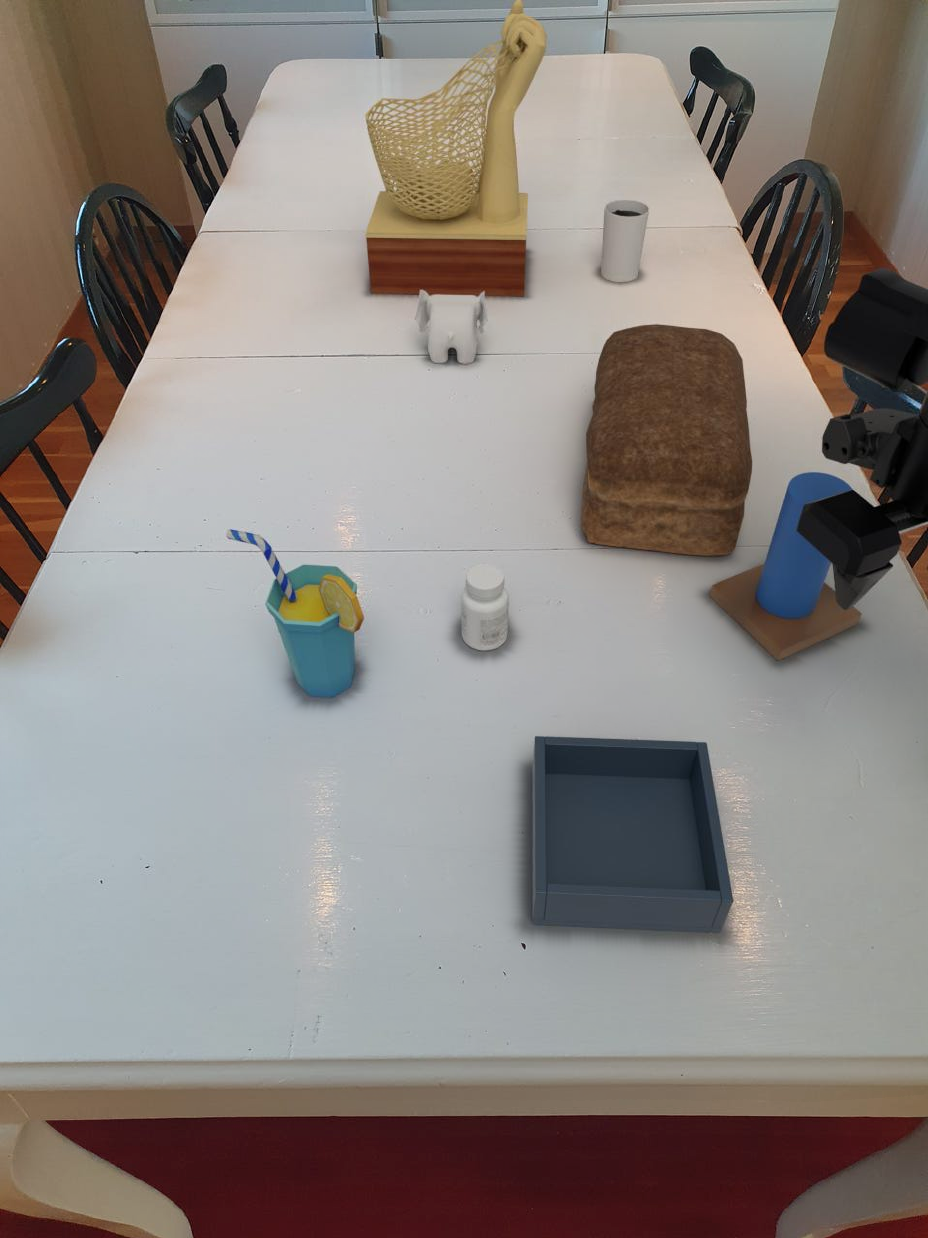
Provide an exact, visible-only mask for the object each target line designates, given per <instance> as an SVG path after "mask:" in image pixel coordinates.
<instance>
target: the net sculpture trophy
mask: <svg viewBox="0 0 928 1238" xmlns="http://www.w3.org/2000/svg"><path fill="white" fill-rule="evenodd" d="M501 27H502V28H501V31H500V35H501V40H499V41H497V42H495V43H493V44H490V45H488V46H486V47H484V48H483V49H481V50H480V51H478V53H476V54H474V56H472V57H471V58H470V59H469V60H468V61H467V62H466V63H465V64H464V65H463V66H462V67H461V68H460V69H459V70H458V71H457V72H456V73H455V74H454V75H453V76H452V77H451V78H450V79H449V80H448V81H447V82H446V83H445V84H444V85H443V86H442V87H441V88H440V89H438V90H435V91H434V92H431V93H428V94H427V95H424V96H421V97H419V98H391V97H390V98H387V97H385V98H381V99H380V100H378V101H377V102H375V103H374V104H373V105H372V106H371V107H370V108H369V110H368V111H367V112H366V113H365V114H364V117H365V122H366V127H367V133H368V138H369V141H370V145H371V148H372V152H373V155H374V158H375V162H376V164H377V167H378V171H379V174H380V177H381V179H382V183H383V186H384V189H385V190H380V191H379V193H378V196H377V198H376V202H375V204H374V207H373V210H372V213H371V216H370V219H369V222H368V225H367V228H366V230H365V240H366V250H367V251H366V252H367V264H368V275H369V286H370V294H372V295H373V294H374V295H378V294H379V295H419V294H420V290H424V291H426V292H427V293H428V295H429V296H431V295H435V294H439V295H474V296H477V297H478V296H479V295H480V294H481V293H482V292H483V291H485V297H525V283H526V255H527V229H528V228H527V227H528V202H529V200H528V199H529V193H528V192H520V185H519V172H518V157H517V144H516V137H515V121H514V120H515V115H516V111H517V109H518V108H519V107H520V104H521V103H522V102H523V100H524V98H525V96H526V95H527V92H528V90H529V88H530V87H531V84H532V82H533V80H534V78H535V76H536V74H537V72H538V69H539V67H540V65H541V64H542V61H543V59H544V56H545V53H546V52H547V51H546V50H547V49H546V48H547V38H548V35H547V33H546V30H545V27H544V26H543V24H541V23H540V21H538V19H535V18H533V17H531V16H529V15H527V14H525V13H524V3H523V1H522V0H514V3H513V4H512V6H511V8H510V10H509V13H508V15H507V16H506V17H505V18H504V21H503V24H502V26H501ZM501 44H502V45H501ZM500 45H501V47H500V48H499V49H496V47H498V46H500ZM484 51H485V53H484ZM489 52H492V53H491V54H490V55H489V56H488V57H487V58H485V57H486V56H487V55H488V54H489ZM483 53H484V54H483ZM482 54H483V56H482ZM493 56H494V60H493V61H492V62H491V63H489V62H487V61H489V60H490V59H491V58H492V57H493ZM470 62H472V63H470ZM481 63H482V64H481ZM469 64H470V65H469ZM476 64H477V65H476ZM493 64H494V68H492V69H491V66H492V65H493ZM467 65H468V66H467ZM474 65H475V67H474V68H473V69H470V68H472V67H473V66H474ZM480 65H481V67H480V68H479V70H477V69H478V67H479V66H480ZM485 65H486V66H487V68H486V70H485V71H484V73H483V72H482V69H483V68H484V66H485ZM466 72H468V73H467V74H465V73H466ZM464 74H465V75H464ZM471 74H474V75H473V76H472V77H471V78H470V79H469V80H468V81H466V80H465V79H466V78H468V77H469V76H471ZM463 75H464V76H463ZM478 75H480V77H479V78H478V79H477V80H475V82H472V81H474V79H475V78H476V77H477V76H478ZM462 76H463V77H462ZM482 79H483V80H482ZM481 80H482V82H481V83H480V84H479V82H480V81H481ZM462 83H463V84H464V86H463V88H462V89H461V90H460V91H459V93H458V94H456V95H454V94H455V93H456V91H457V90H458V88H459V86H460V85H461V84H462ZM468 86H470V87H469V88H468V89H467V90H466V91H465V89H466V88H467V87H468ZM453 87H455V88H454V90H453V92H452V93H451V94H450V96H449V97H447V96H448V94H449V92H450V91H451V90H452V88H453ZM475 87H477V88H476V89H474V88H475ZM464 91H465V92H464ZM493 91H494V93H493ZM463 92H464V93H463ZM439 93H440V94H439ZM477 93H478V94H477ZM492 94H493V95H492ZM483 95H484V96H483ZM482 96H483V97H482ZM446 97H447V98H446ZM474 97H475V98H474ZM481 97H482V98H481ZM440 98H441V99H440ZM472 98H474V99H473V100H472ZM490 98H491V99H490ZM430 99H432V100H430ZM439 99H440V101H437V100H439ZM428 100H430V101H429V102H428ZM477 100H478V101H479V102H477V103H476V101H477ZM489 100H490V102H489ZM384 101H386V102H384ZM401 101H403V102H401ZM383 102H384V103H383ZM409 103H410V104H412V105H407V104H409ZM447 103H448V104H447ZM488 103H489V105H488ZM392 104H393V105H396V106H395V107H391V106H389V105H392ZM422 105H423V106H422ZM431 105H433V106H431ZM416 106H422V107H421V108H419V109H417V108H416ZM429 106H431V107H429ZM400 107H405V109H403V110H399V108H400ZM427 107H429V108H427ZM384 108H386V109H389V110H387V111H385V112H383V110H384ZM471 108H473V109H472V110H470V109H471ZM378 109H379V111H378ZM447 109H448V110H447ZM481 109H482V110H481ZM409 110H413V111H412V112H408V111H409ZM440 110H441V111H440ZM446 110H447V111H446ZM439 111H440V112H439ZM445 111H446V112H445ZM391 112H397V113H395V114H390V113H391ZM429 112H430V113H429ZM418 113H420V114H419V115H417V114H418ZM427 113H429V114H427ZM466 113H468V114H466ZM375 114H377V115H376V116H375ZM402 114H404V115H403V116H401V115H402ZM486 114H487V115H486ZM380 115H382V116H381V117H380ZM385 116H388V117H385ZM439 116H441V117H440V118H438V117H439ZM447 116H448V117H447ZM464 116H465V117H464ZM374 117H375V118H374ZM408 117H413V118H408ZM429 117H431V118H429ZM393 118H397V119H395V120H393ZM428 118H429V119H428ZM479 118H481V119H480V120H479ZM418 119H420V120H418ZM402 120H405V121H402ZM456 120H457V121H456ZM455 121H456V122H455ZM476 121H477V123H475V122H476ZM386 122H389V123H386ZM411 122H413V123H411ZM430 122H431V123H430ZM454 122H455V124H453V123H454ZM464 122H465V123H464ZM385 123H386V124H385ZM428 123H430V124H428ZM393 124H396V125H393ZM403 125H405V126H403ZM429 127H430V128H429ZM456 127H457V129H456ZM428 128H429V129H428ZM448 128H449V129H448ZM471 128H472V129H471ZM470 129H471V130H470ZM479 129H480V134H479V133H478V130H479ZM463 130H464V133H463V134H462V131H463ZM420 131H421V132H420ZM396 133H397V134H396ZM405 134H406V135H405ZM456 134H457V135H456ZM445 135H446V136H445ZM455 136H456V137H455ZM430 138H431V139H430ZM440 139H442V140H440ZM439 140H440V141H439ZM447 140H449V141H448V142H447V143H445V141H447ZM462 140H464V141H465V142H464V143H461V142H462ZM471 143H473V144H471ZM477 143H479V145H477ZM455 144H456V145H455ZM454 145H455V146H454ZM420 146H421V147H420ZM398 147H399V148H398ZM440 147H441V148H440ZM439 148H440V149H439ZM447 148H448V149H447ZM446 149H447V150H446ZM458 149H459V150H458ZM445 150H446V151H445ZM462 150H464V152H462ZM454 152H456V154H455V155H453V154H454ZM470 153H473V154H472V155H470ZM477 154H478V155H477ZM428 157H430V158H428ZM474 161H475V162H474ZM437 162H439V163H437ZM469 162H471V163H472V164H471V165H470V164H469ZM395 188H396V189H395Z"/></svg>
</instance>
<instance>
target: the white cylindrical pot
mask: <svg viewBox="0 0 928 1238" xmlns="http://www.w3.org/2000/svg"><path fill="white" fill-rule="evenodd" d="M603 210H604V211H603V225H602V245H601V247H602V248H601V262H600V263H601V264H600V265H601V267H600V275H601V277H602V278H603V279H605V280H607V281H611V282H614V283H627V282H632V281H634V280H636V279H637V278H639V277H638V276H639V270H640V265H641V259H642V254H643V248H644V242H645V237H646V230H647V226H648V219H649V213H650V207H649V205H648V204H646V203H644V202H642V201H639V200H633V199H616V200H612V201H608V203H606V204H605V205H604V209H603Z"/></svg>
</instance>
